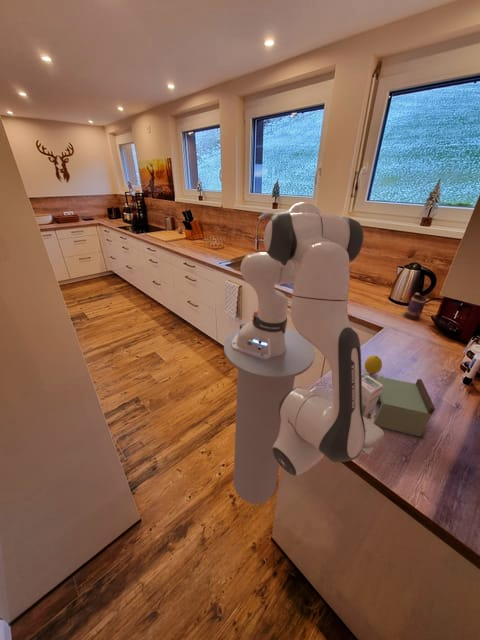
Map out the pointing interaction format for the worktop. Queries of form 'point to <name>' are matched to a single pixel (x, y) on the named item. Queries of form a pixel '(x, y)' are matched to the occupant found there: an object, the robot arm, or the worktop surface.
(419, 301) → the mug
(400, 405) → the green side table
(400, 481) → the worktop surface
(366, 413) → the syrup box
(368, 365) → the lemon
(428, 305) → the worktop surface
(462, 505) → the worktop surface
